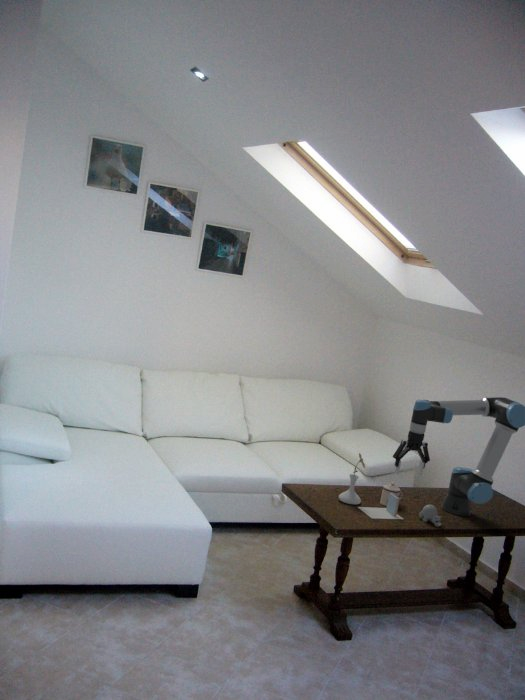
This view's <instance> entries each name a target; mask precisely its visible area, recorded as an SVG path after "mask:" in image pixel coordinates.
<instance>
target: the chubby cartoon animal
mask: <svg viewBox="0 0 525 700" xmlns="http://www.w3.org/2000/svg"><path fill="white" fill-rule="evenodd" d="M418 517H419V518H421V519H422V522H423V523H424V522H425V523H427V522H431V523H432V524H434V526H435V527H441V525H442V523H441V518H442V517H443V516H439V515H438V509H437V507H436V506H435V505H433V504H426V505H424V507H423V508H422V510H421V511H420V512H419V513H418Z"/></svg>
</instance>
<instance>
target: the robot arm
mask: <svg viewBox="0 0 525 700" xmlns="http://www.w3.org/2000/svg"><path fill="white" fill-rule="evenodd" d="M413 405H414V406H413V407H412V408H413V409H412V410H413V411H412V415H411V421H410V425H409V430H408V434H407V440H404V439H401V442H400V444H399V446H398V447H397V449H396V451H394V453H393V455H392V458H393V459H395V462H394V466H395V468H394V473H395V474H397V475H399V474H400V469H401V465H402V459H403V458H404V457H405V456H406V455H407V454H408V453H409V452H411V451H412V452H413V451H415V452H417V453H418V456H419V457H420V459H421V460H420V461H419V465H418V470H417V475H419V476H423V472H424V469H425V468H426V464H427V463H428V462H431V459H430V454H429V448H428V445H429V444H428V442H426V441H425V439H424V438H425V433H426V429H427V425H428V422H433V423H440V424H449V423H450V424H451V422H452V420H453V416H480V415H481V416H482V417H490V418H494V424H495V428H494V430H493V432H492V433H491V436H490V438H489V440H488V442H487V444H486V447H485V449H484V450H483V453H482V455H481V457H480V458H479V459H480V460H479V462H478V463H477V466H476V468H475V469H472V468H466V467H461V466H455V467H453V468H452V471H451V475H450V481H449V486H448V488H447V489H448V490H447V494H446V496H445V497H444V500H443V501H442V502H441V506H440V507H441V509H442V510H443V511H445V512H448V513H449V514H452V515H456V516H460V517H461V516H462V517H469V516H471V514H472V504H471V502H473V503H475V504H477V505H482V504H486V503H487V502H489V501H490V500H491V499H492V497H493V495H494V490H493V484H494V479H493V476H494V474H495V472H496V470H497V467H498V465H499V463H500V462H501V459H502V457H503V455H504V453H505V451H506V449H507V448H508V447H507V446H508V444H509V442H510V440H511V438H512V436H513V434H515V433H518V431H519V429H520V428H522V427H524V426H525V405H523V403H520V402H517V401H515V400H512V399H509V398H507V397H502V396H501V397H500V396H499V397H498V396H497V397H495V396H494V397H482V398H480V399H469V400H468V399H467V400H466V399H463V400H428V399H416V400H415V402H414V404H413ZM421 447H422V448H421Z"/></svg>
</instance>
